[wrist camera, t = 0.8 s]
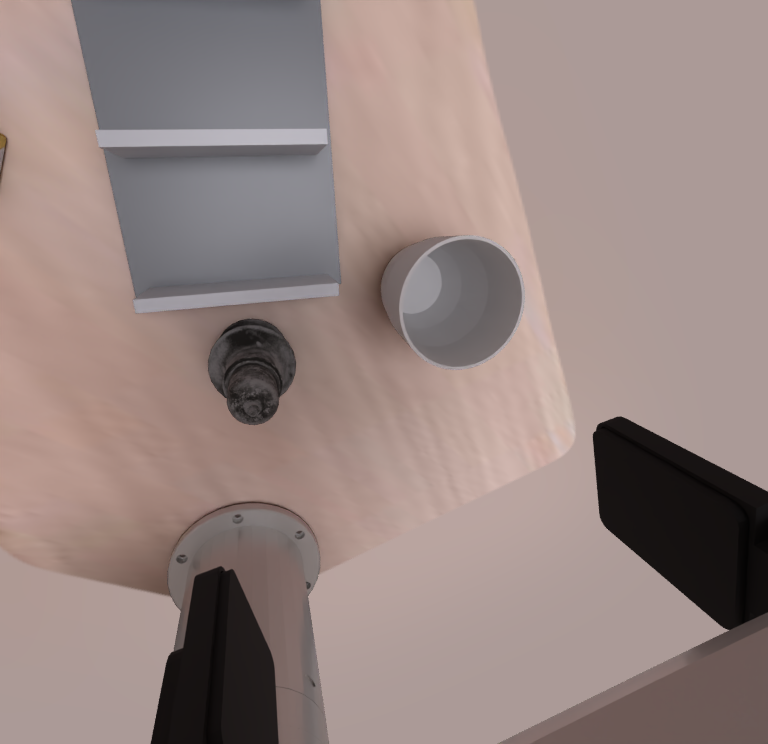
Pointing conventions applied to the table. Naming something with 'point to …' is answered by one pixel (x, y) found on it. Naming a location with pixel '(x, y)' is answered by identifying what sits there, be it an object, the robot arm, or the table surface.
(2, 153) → the candy box
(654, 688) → the robot arm
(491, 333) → the cup
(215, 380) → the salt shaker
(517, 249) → the table surface
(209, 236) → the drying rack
